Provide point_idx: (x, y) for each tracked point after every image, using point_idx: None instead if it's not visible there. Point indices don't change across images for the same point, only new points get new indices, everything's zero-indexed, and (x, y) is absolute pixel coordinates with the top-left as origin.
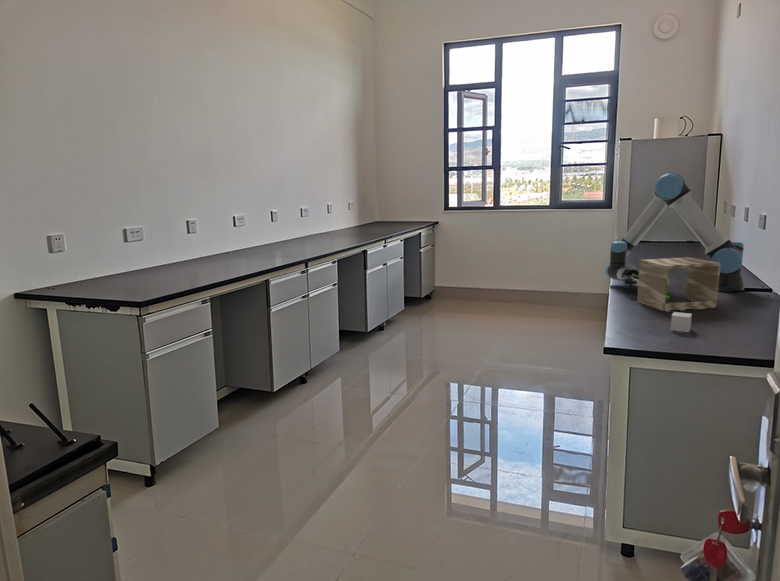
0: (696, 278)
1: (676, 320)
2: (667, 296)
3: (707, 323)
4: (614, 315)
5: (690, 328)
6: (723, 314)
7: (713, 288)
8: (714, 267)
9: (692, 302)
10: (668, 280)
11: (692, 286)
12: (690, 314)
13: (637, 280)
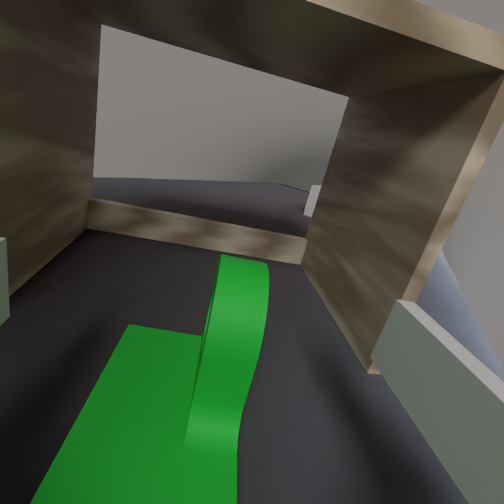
0: (25, 116)
1: None
2: (149, 328)
3: (251, 210)
4: (457, 288)
5: (304, 212)
6: (150, 208)
7: (88, 146)
8: (92, 31)
9: (194, 217)
10: (5, 251)
11: (6, 191)
12: (316, 185)
13: (470, 361)
